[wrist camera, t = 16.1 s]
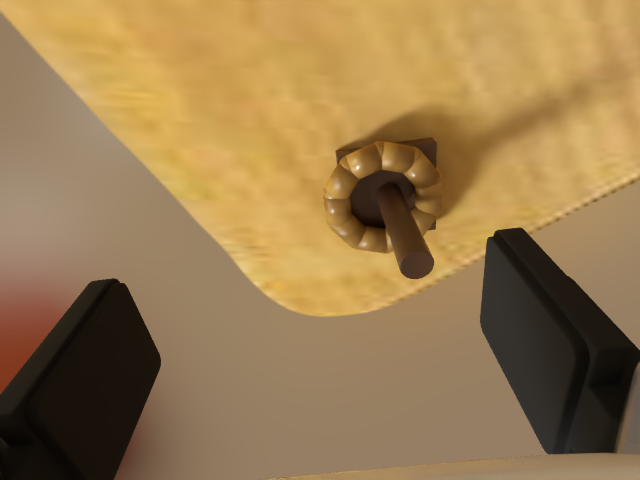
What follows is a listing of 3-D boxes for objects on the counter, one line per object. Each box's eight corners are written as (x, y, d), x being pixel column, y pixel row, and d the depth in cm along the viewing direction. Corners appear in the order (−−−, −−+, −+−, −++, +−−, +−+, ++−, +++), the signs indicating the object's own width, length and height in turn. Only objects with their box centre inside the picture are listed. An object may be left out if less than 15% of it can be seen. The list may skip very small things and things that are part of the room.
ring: (438, 128, 35) (446, 136, 33) (437, 238, 41) (443, 251, 39) (316, 146, 36) (316, 154, 34) (331, 251, 41) (332, 264, 39)
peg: (432, 137, 37) (487, 198, 25) (431, 222, 42) (478, 307, 30) (335, 150, 38) (346, 216, 26) (345, 233, 42) (358, 321, 30)
